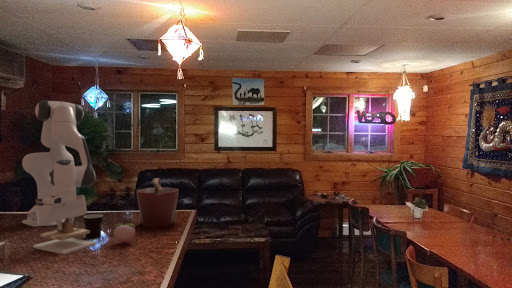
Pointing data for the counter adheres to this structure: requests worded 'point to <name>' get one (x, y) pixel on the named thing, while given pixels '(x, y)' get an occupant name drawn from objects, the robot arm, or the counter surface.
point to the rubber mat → (64, 245)
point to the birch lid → (65, 232)
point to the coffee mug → (93, 225)
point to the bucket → (157, 205)
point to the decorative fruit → (124, 232)
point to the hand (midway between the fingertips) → (65, 228)
